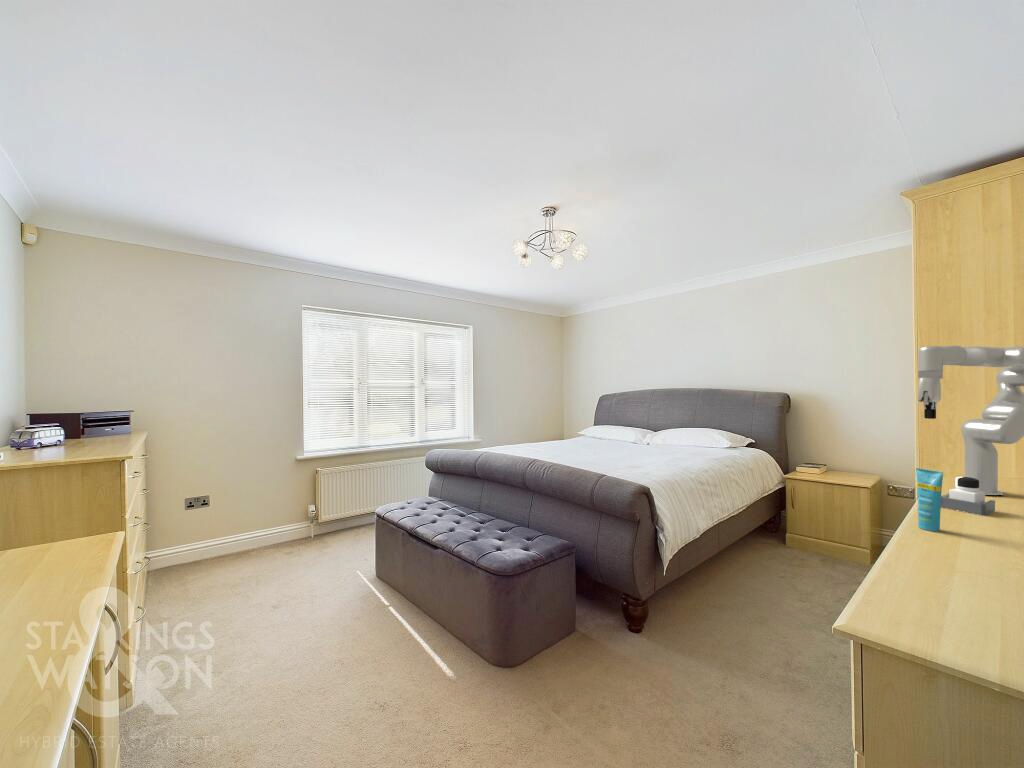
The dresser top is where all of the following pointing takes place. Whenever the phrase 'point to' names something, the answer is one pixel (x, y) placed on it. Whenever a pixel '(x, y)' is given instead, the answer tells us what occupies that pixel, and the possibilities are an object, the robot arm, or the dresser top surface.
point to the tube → (929, 499)
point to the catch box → (968, 505)
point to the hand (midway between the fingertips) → (930, 418)
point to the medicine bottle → (967, 490)
